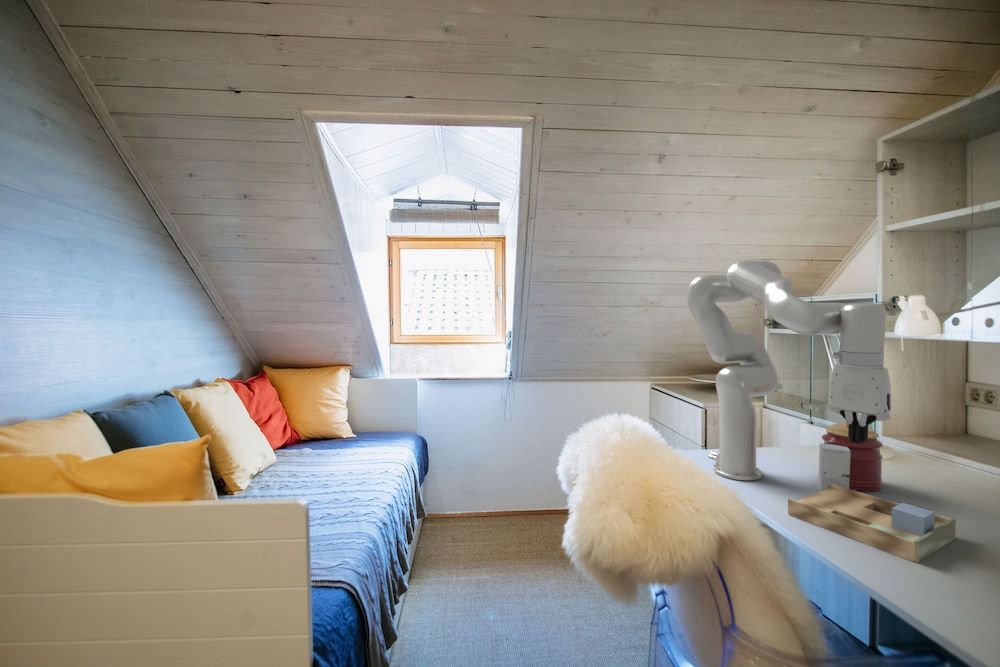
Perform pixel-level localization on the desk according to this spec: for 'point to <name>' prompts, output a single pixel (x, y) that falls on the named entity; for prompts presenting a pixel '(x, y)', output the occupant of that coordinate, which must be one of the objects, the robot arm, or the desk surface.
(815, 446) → the desk surface
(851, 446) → the canister
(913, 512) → the block
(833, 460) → the skincare box
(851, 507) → the box
